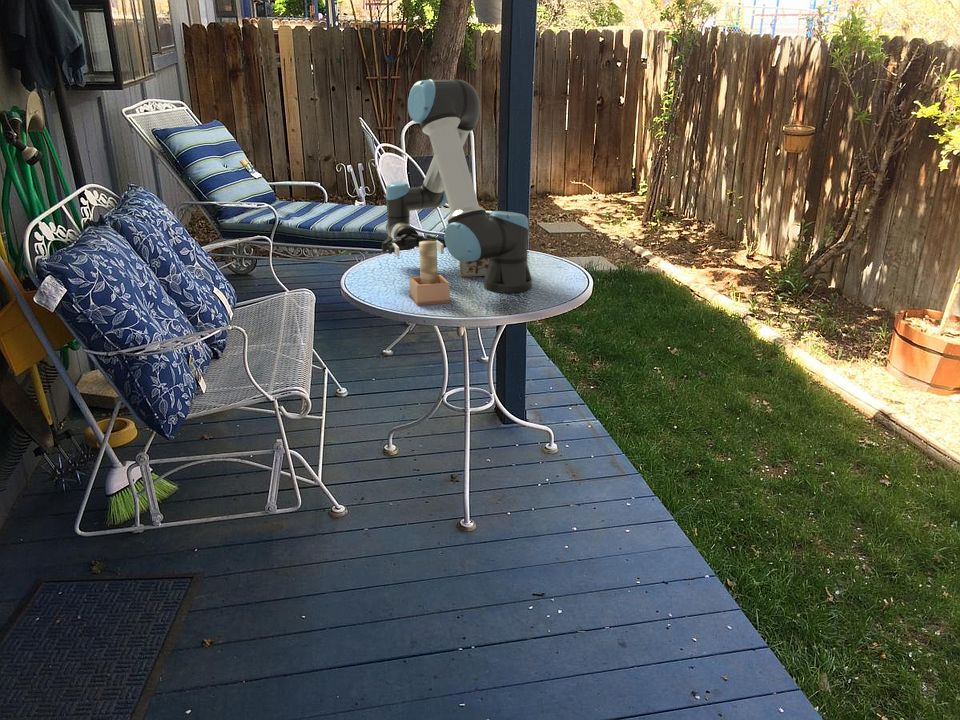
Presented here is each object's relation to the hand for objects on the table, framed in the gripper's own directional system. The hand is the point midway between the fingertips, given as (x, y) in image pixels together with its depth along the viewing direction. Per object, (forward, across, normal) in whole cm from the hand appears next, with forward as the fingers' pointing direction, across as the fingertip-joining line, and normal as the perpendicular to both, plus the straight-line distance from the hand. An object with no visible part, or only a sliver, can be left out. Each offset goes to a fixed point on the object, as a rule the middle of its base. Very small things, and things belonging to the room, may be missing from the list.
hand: (420, 250), depth 224 cm
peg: (+10, 0, -12) cm, 15 cm away
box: (+10, 0, -12) cm, 16 cm away
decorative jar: (-16, -23, -13) cm, 31 cm away
